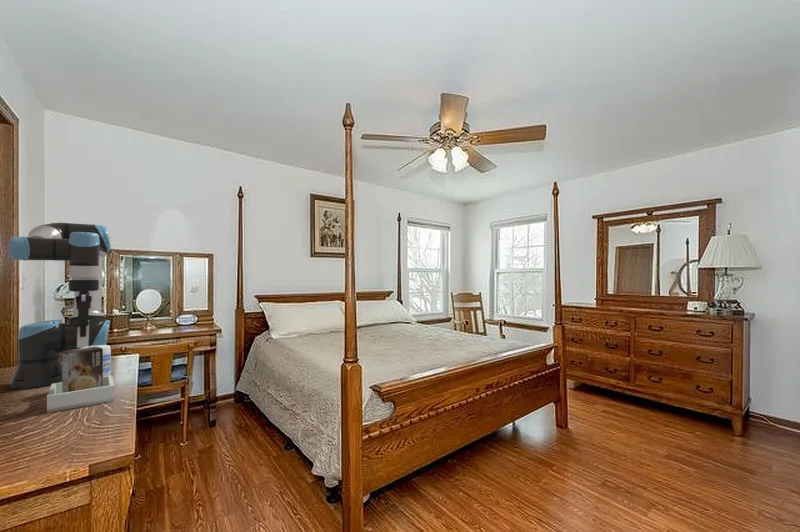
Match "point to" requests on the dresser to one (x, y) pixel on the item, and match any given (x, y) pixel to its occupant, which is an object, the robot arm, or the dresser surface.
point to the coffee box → (82, 369)
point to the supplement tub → (105, 358)
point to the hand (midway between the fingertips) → (83, 343)
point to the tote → (79, 396)
